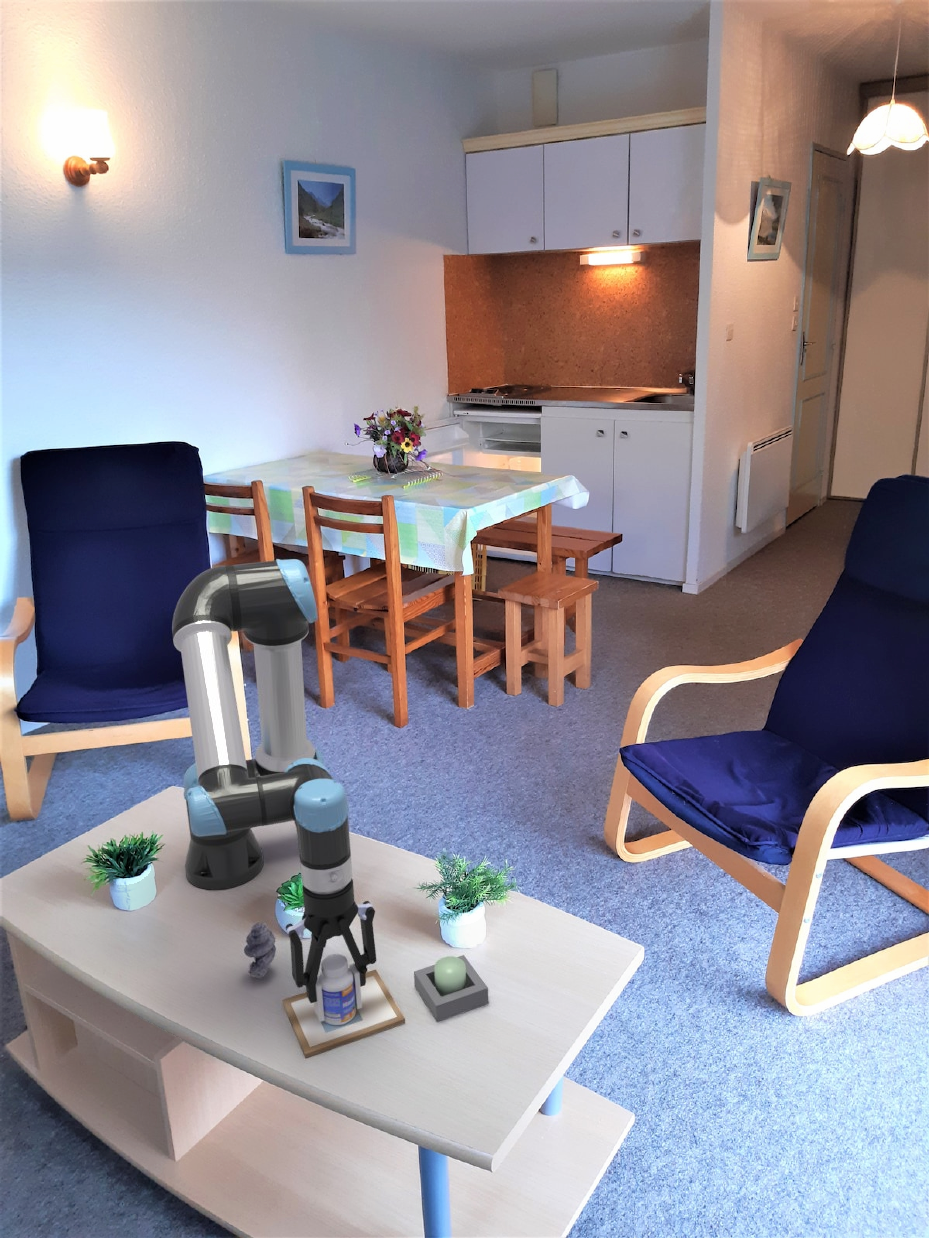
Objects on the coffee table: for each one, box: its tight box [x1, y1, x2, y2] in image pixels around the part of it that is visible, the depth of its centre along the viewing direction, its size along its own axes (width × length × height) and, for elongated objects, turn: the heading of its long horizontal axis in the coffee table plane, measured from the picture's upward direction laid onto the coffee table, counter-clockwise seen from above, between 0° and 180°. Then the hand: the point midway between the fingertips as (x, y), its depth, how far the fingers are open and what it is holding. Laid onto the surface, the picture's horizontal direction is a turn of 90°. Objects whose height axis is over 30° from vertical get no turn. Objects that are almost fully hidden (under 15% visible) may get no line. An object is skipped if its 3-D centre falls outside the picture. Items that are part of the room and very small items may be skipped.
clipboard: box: [282, 969, 406, 1059], centre depth 150 cm, size 13×16×2 cm
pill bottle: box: [318, 953, 356, 1025], centre depth 147 cm, size 5×5×10 cm
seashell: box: [243, 922, 277, 980], centre depth 158 cm, size 5×5×10 cm
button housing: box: [413, 954, 489, 1022], centre depth 153 cm, size 9×9×3 cm
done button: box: [434, 956, 467, 997], centre depth 153 cm, size 5×5×4 cm
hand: (338, 1008), depth 148 cm, fingers closed on pill bottle, 5 cm apart
